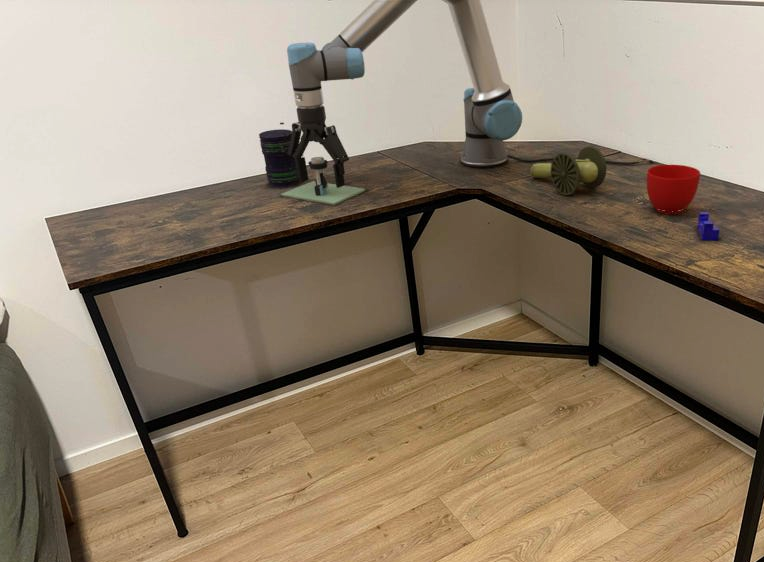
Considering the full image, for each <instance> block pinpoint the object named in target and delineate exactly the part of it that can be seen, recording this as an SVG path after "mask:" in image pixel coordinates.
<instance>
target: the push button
mask: <svg viewBox="0 0 764 562" xmlns="http://www.w3.org/2000/svg"><path fill="white" fill-rule="evenodd" d="M328 163H329V162H328V160H327V159H325V158H324V157H323V156H314V157H311V158H310V161H308V166H309V169H310V170H312V171H314V173H315V177H316V178H315V180H314V181H315V182H316V186H315V187H314V188H315V194H316V196H323V195H324V194H326V193H328V188H329V187H328V183H329V182H328V181H327V179H326V178H325V173H324V170H325V169H327V168H328Z"/></svg>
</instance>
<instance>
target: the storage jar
mask: <svg viewBox="0 0 764 562" xmlns="http://www.w3.org/2000/svg"><path fill="white" fill-rule="evenodd" d="M279 125H285V122H279ZM291 136H292V129H280V128H279V129H269V130H265V131H262V132H260V133H259V134H258V137H259V142H260V148H261V153H262V155H263V158H264V164H265V168H264V169H265V172H266V173H265V175H266V178H267V181H268V186H269V187H270V188H273V189H287V188H293V187H297V186H299V185H300V184H301V183H302V182H300V177H299V172H298V169H297V168H296V162H295V158H294V157H293V156H289V154H288V151H289V146H290V141H291Z"/></svg>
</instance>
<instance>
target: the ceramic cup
mask: <svg viewBox="0 0 764 562" xmlns="http://www.w3.org/2000/svg"><path fill="white" fill-rule="evenodd" d="M700 178H701V172H700V170H699V169H697V168H695V167H692V166H689V165H683V164H660V165H655V166H651V167H649V168H648V169H647V171H646V191H647V196H648V199H649V201H650V203H651V205H652V206H653V207H654V209H655V210H656V212H658V213H660V214H663V215H679V214H680V213H682V212H683V211H684V210H685V209H686V208H687V207H688V206H690V204H691V203H692V202H693V200H694V199H695V196H696V193H697V191H698V187H699V183H700ZM656 208H657V209H656ZM658 209H660V210H658ZM682 209H683V210H682ZM662 210H665V211H662ZM678 210H681V211H678ZM672 211H673V212H672Z"/></svg>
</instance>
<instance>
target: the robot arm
mask: <svg viewBox="0 0 764 562" xmlns="http://www.w3.org/2000/svg"><path fill="white" fill-rule="evenodd" d="M417 1H418V0H373V1H371V3H370V4H369V5H367V7H365V9H364V10H363V11H362V12H360V13H359V15H357V16H356V17H355V18H354V19H353V20H352V21H351V22H350V23H349V24H348V25H347V26H346V27H345V28H344V29H343V30H342V31H341V32H339V34H338V35H337V36H336V37H334V38H333V40H331V41H330V42H327V43H326V44H324V45H323V46H322V48H321V49H320V50H319V49H318V48H317V45H316V44H315V43H314V42H296V43H290V44H289V45H288V46H287V48H286V53H287V62H288V69H289V75H290V79H291V86H292V91H293V96H294V102H295V106H296V107H297V108H296V114H297V115H296V116H297V122H294V123H291V131H292V136H291V141H290V146H289V151H288V154H289V156H293V157H294V158H295V162H296V168H297V169H298V172H299V177H300V182H301V183H304V182H307V181H309V180H310V179H309V174H308V173H309V172H308V168H307V163H306V157H305V156H304V153H305V151H306V150H307V147H308V145H309V143H310V142H314V143H319V144H320V145H321V146H322V147H323V148H324V150H325V151H326V152H327V154H328V155H329V156H330V158H331V159H332V160H333V162H334V163H333V165H332V166H333V172H334V179H335V184H336V187H337V188H339V187H342V186H346V183H345V176H344V175H345V174H346V173H345V164H344V163H346V162H348V161H349V160H350V158H349V155H348V153H347V151H346V149H345V147H344V146H343V143H342V141H341V139H340V138H339V135H338V132H337V129H336V126H335V124H333V125H329V126H327V125H326V119H327V116H326V115H327V114H326V108H325V106H324V103H325V100H324V95H323V88H322V82H329V81H341V80H342V81H343V80H344V81H345V80H355V79H361V78H363V77H364V76H365V72H366V71H365V69H366V67H365V59H364V55H363V52H365V51H366V50H367V49H368V48H369V47H370V46H371V45H372V44H373V43H374V42H375V41H376V40H378V38H380V36H382V34H384V32H386V31H387V30H388V29H389V28H390V27H391V26H392V25H393V24H394V23H395V22H396V21H398V19H399V18H401V16H403V15H404V14H405V13H406V12H407V11H408V10H409V9H410V8H412V6H413V5H414V4H415V3H416V2H417ZM442 1H443V2H444V3H446V4H447V5H448V8H449V12H450V16H451V18H452V22H453V25H454V28H455V32H456V35H457V39H458V42H459V45H460V48H461V51H462V54H463V58H464V61H465V65H466V67H467V72H468V74H469V77H470V80H471V84H472V87H468V88H466V89H465V90H464V92H463V108H464V110H463V111H464V129H465V139H464V143H463V147H462V151H461V154H460V163H461V165H463V166H464V167H470V168H478V169H486V168H487V169H488V168H489V169H490V168H495V167H500V166H501V167H502V166H503V165H505V164H507V163H508V162H509V159H511V160H516V161H519V162H523V163H536V162H537V163H538V162H544V161H546V162H547V161H553V159H554V158H555V157H545V158H535V159H523V158H519V157H516V156H513V155H509V154H508V151H507V148H506V146H505V143H504V141H508V140H509V139H512V138H513V137H515V135H516V134H517V133H518V132H519V130H520V128H521V126H522V123H523V112H522V109H521V108H520V106H519V105H518V103H517V102H515V100H514V98H513V93H512V90H511V85H510V84H508V83H506V82H505V81H504V80H503V77H502V74H501V70H500V67H499V63H498V58H497V55H496V52H495V49H494V44H493V41H492V37H491V34H490V31H489V27H488V23H487V19H486V16H485V13H484V9H483V6H482V3H481V0H442ZM573 158H574V159H575V160H577V158H578V157H573ZM646 159H647V158H641V160H646ZM605 162H606V164H612V165H623V166H625V165H627V166H630V165H637V164H640V163H642V162H644V161H642V162H635V161H632V162H631V161H629V162H627V161H626V162H625V161H623V162H622V161H614V160H613V161H612V160H605ZM647 162H648V163H650V164H651V165H652V164H653V165H654V164H655V163H654V161H653V160H651V159H650V161H647Z"/></svg>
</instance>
